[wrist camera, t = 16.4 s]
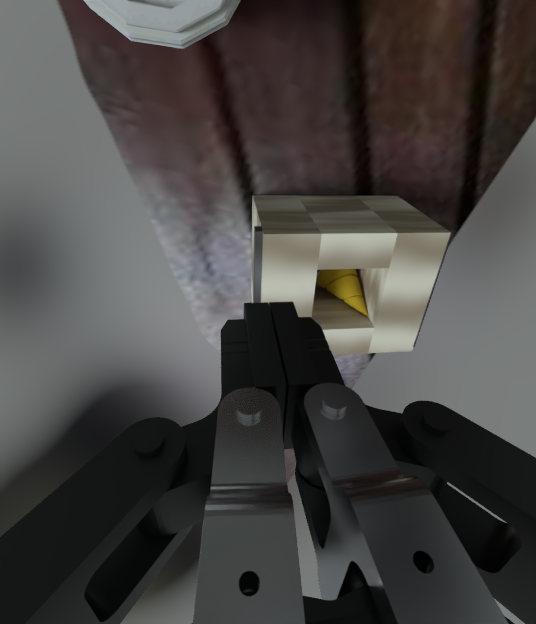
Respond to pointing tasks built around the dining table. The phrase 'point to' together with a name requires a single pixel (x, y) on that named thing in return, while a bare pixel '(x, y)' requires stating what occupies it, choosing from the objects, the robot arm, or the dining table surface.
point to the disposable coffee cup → (165, 19)
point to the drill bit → (343, 286)
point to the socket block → (349, 264)
